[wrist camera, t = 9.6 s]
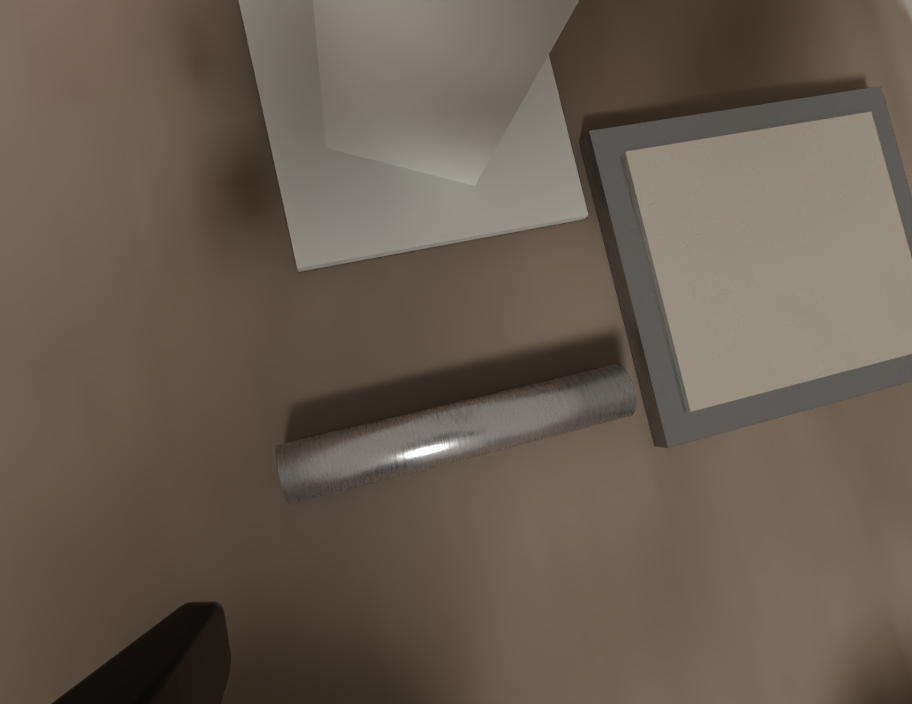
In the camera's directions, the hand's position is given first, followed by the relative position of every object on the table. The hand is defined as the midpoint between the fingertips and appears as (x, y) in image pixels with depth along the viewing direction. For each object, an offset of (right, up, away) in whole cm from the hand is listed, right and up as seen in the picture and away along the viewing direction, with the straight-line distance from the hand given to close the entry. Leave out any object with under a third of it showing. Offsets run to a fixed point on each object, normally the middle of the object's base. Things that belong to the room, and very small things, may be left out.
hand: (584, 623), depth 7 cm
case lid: (-3, +11, +11) cm, 16 cm away
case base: (+9, +6, +13) cm, 17 cm away
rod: (-2, +1, +10) cm, 10 cm away
